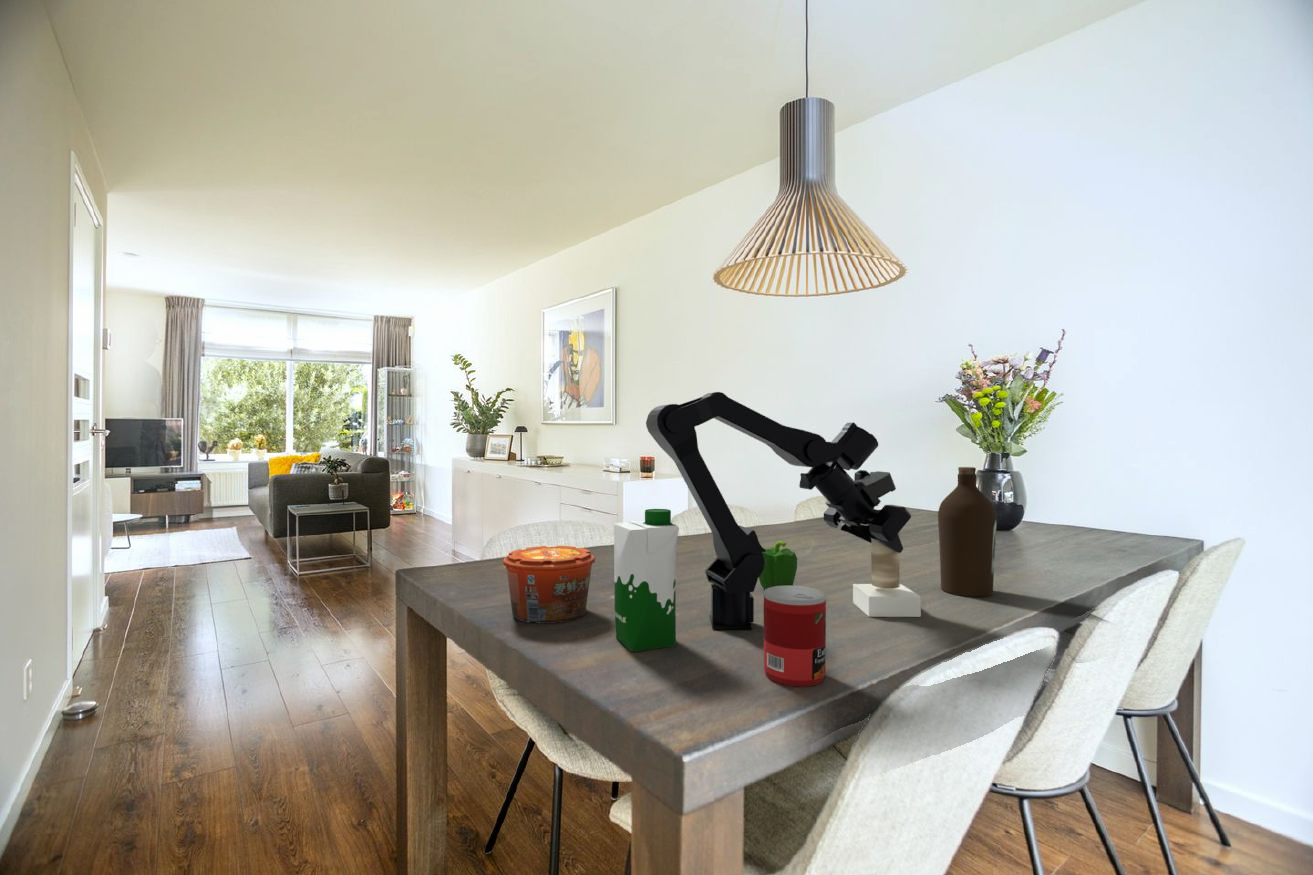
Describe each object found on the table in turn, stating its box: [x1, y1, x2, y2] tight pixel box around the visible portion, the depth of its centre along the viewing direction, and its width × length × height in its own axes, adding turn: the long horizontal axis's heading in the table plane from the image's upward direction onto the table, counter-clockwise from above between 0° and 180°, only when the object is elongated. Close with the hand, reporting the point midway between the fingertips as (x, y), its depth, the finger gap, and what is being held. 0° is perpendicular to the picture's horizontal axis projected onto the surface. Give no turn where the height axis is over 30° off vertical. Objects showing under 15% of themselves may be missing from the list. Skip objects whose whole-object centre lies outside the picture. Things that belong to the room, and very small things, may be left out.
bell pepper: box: [758, 540, 798, 590], centre depth 128 cm, size 8×8×10 cm
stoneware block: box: [852, 583, 922, 618], centre depth 112 cm, size 9×9×4 cm
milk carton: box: [613, 508, 680, 653], centre depth 95 cm, size 9×9×20 cm
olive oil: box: [937, 466, 998, 598], centre depth 125 cm, size 11×11×25 cm
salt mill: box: [870, 531, 901, 588], centre depth 112 cm, size 5×5×13 cm
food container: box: [502, 545, 596, 624], centre depth 110 cm, size 16×16×11 cm
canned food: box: [763, 585, 827, 688], centre depth 82 cm, size 8×8×11 cm
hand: (891, 548), depth 113 cm, fingers closed on salt mill, 5 cm apart
